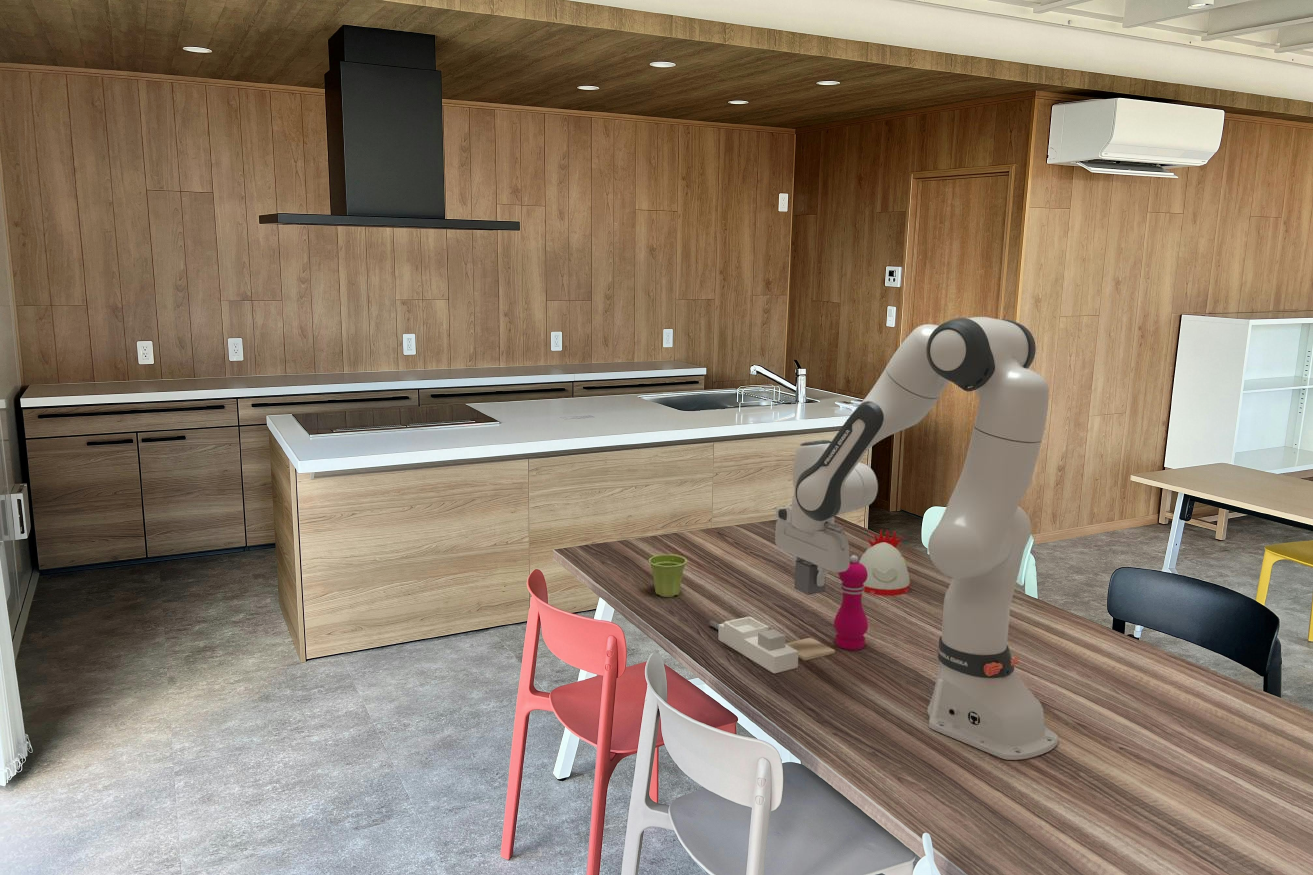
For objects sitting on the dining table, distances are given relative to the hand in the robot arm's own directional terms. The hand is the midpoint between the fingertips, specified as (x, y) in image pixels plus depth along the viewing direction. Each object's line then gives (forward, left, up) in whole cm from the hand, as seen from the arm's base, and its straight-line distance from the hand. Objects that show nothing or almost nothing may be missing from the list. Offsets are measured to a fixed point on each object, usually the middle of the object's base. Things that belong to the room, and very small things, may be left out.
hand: (809, 580), depth 193 cm
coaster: (0, 0, -15) cm, 15 cm away
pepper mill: (-2, -10, -16) cm, 19 cm away
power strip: (+8, +10, -15) cm, 20 cm away
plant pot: (+45, +8, -16) cm, 48 cm away
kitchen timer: (+23, -43, -16) cm, 51 cm away
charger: (0, 0, -2) cm, 2 cm away
